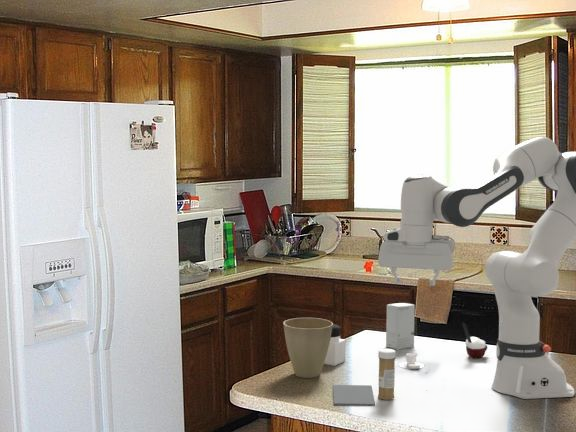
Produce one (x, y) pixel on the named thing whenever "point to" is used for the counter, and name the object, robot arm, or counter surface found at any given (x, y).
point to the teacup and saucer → (411, 362)
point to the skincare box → (400, 325)
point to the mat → (353, 395)
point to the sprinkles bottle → (386, 374)
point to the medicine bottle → (335, 348)
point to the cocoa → (474, 345)
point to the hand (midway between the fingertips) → (414, 284)
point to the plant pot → (307, 344)
